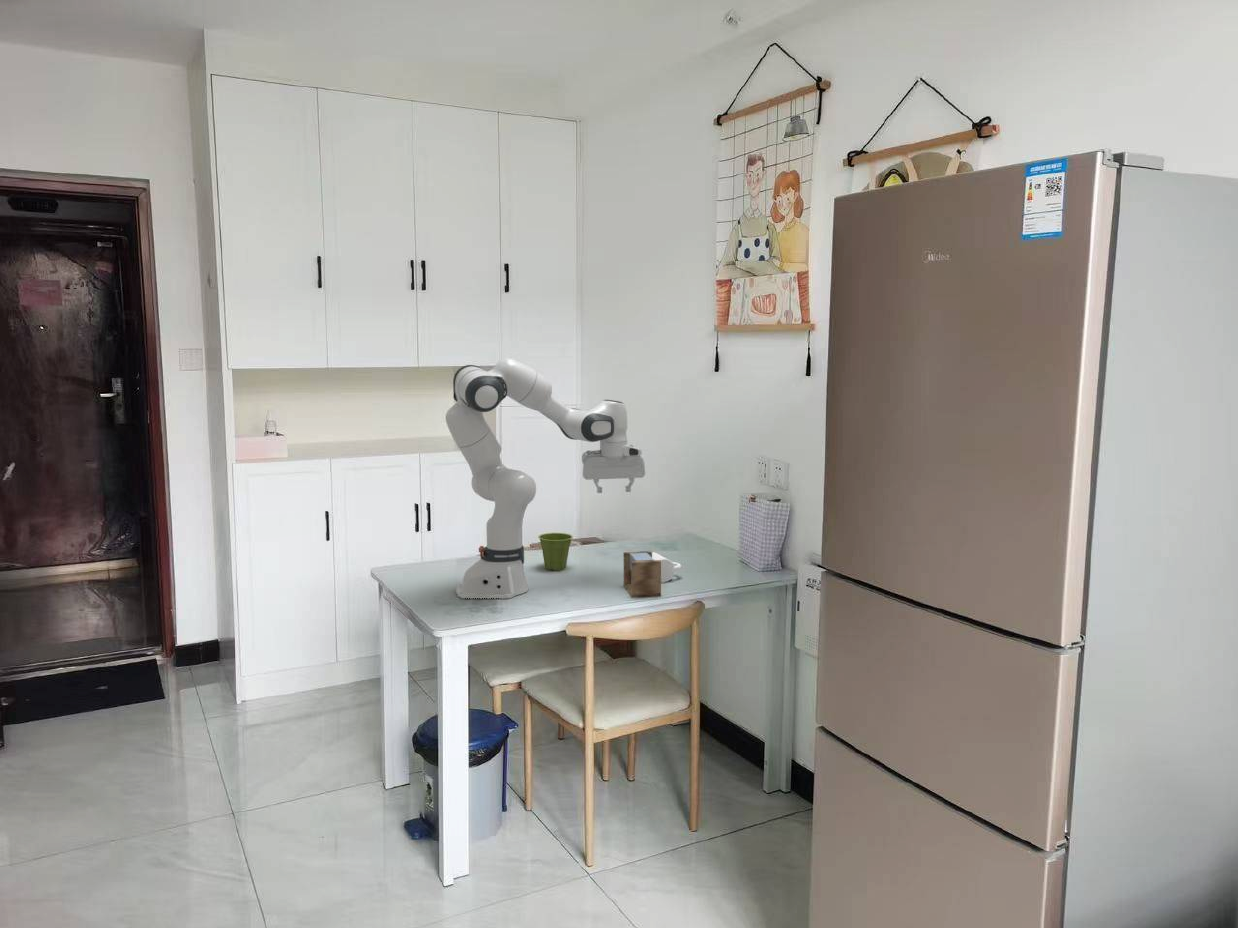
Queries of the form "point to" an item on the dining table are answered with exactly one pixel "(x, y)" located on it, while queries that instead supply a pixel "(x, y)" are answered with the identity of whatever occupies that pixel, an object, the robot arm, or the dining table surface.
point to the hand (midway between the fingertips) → (613, 492)
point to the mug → (666, 567)
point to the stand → (642, 576)
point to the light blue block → (639, 557)
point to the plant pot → (555, 549)
